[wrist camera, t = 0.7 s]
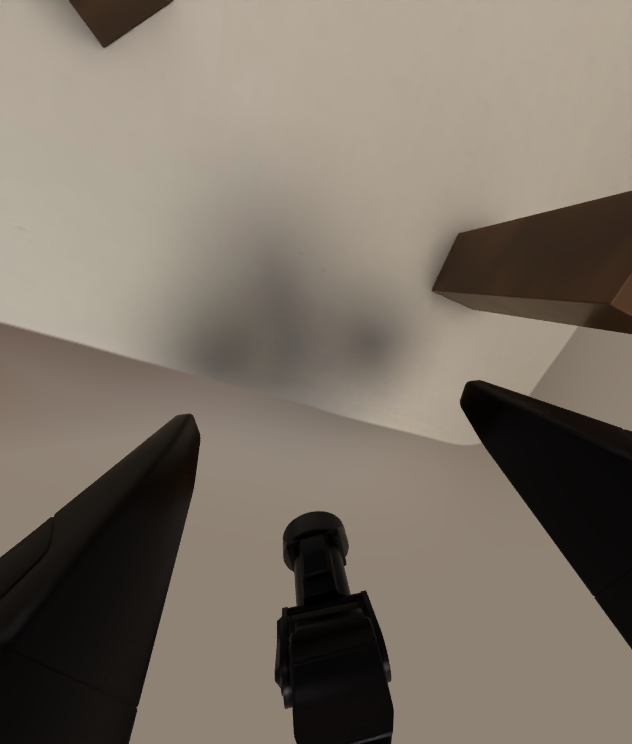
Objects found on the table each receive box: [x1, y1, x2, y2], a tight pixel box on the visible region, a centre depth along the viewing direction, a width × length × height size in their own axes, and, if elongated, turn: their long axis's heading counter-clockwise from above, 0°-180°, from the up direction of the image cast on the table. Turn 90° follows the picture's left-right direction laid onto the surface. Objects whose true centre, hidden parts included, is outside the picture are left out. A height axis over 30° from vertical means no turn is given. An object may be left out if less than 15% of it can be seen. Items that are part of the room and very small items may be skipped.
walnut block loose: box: [432, 191, 632, 334], centre depth 15 cm, size 4×4×12 cm
